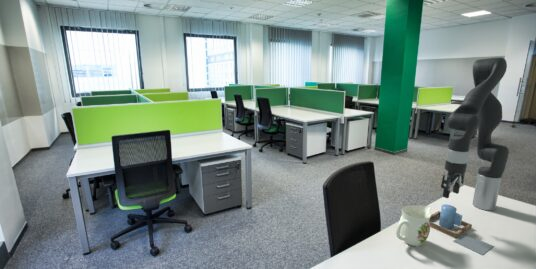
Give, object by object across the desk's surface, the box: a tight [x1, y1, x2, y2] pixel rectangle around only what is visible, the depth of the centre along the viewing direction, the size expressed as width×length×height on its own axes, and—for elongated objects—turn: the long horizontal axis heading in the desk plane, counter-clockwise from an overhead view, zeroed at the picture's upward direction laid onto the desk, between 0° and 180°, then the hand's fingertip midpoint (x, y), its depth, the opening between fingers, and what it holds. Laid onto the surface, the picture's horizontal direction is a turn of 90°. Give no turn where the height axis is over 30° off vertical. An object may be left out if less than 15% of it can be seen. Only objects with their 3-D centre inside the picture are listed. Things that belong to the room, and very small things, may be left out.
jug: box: [438, 203, 463, 230], centre depth 118 cm, size 8×6×9 cm
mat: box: [453, 233, 495, 256], centre depth 107 cm, size 10×10×1 cm
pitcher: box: [395, 205, 432, 247], centre depth 107 cm, size 11×18×14 cm, turn 116°
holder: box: [429, 210, 473, 239], centre depth 120 cm, size 14×14×2 cm
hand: (450, 195), depth 117 cm, fingers open, 8 cm apart
